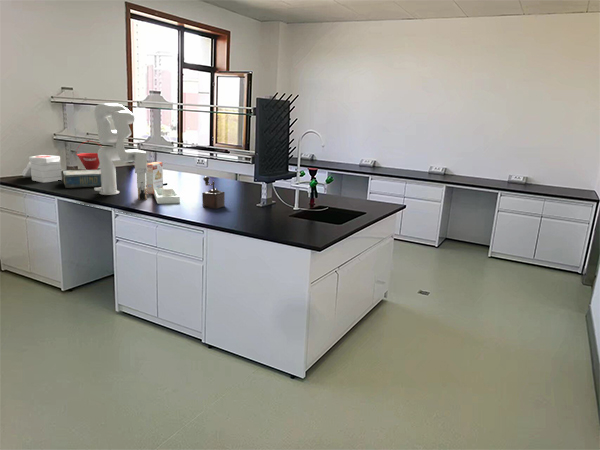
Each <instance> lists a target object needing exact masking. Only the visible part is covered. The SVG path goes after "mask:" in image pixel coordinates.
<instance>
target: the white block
mask: <svg viewBox="0 0 600 450" xmlns="http://www.w3.org/2000/svg"><path fill="white" fill-rule="evenodd" d="M172 188H173V187H163V189H162V197H173V189H172Z"/></svg>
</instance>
